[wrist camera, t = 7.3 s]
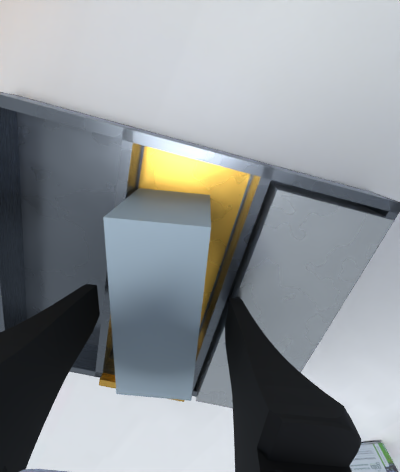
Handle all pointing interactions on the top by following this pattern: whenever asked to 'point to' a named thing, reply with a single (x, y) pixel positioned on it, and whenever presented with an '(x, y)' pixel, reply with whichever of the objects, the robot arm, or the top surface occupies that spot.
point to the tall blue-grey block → (157, 289)
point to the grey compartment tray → (221, 236)
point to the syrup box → (372, 459)
